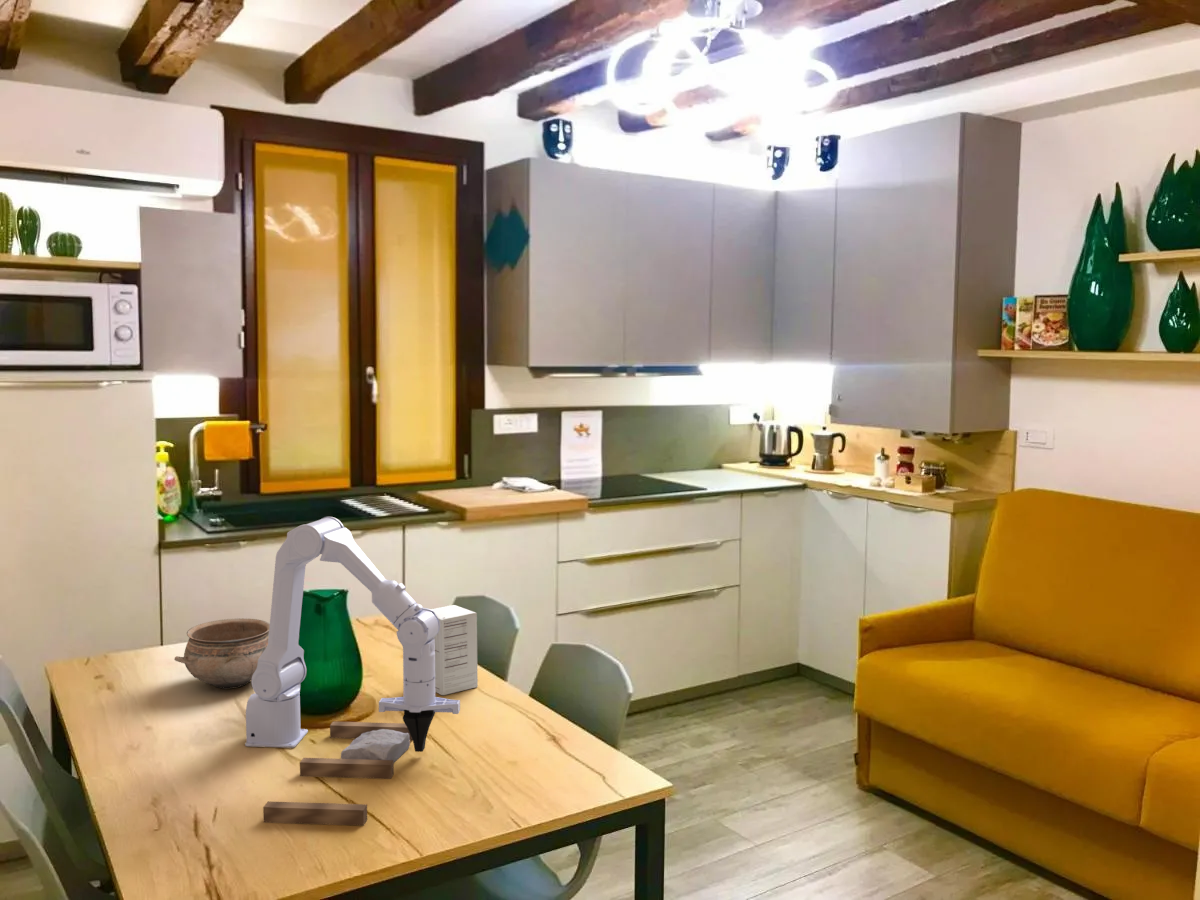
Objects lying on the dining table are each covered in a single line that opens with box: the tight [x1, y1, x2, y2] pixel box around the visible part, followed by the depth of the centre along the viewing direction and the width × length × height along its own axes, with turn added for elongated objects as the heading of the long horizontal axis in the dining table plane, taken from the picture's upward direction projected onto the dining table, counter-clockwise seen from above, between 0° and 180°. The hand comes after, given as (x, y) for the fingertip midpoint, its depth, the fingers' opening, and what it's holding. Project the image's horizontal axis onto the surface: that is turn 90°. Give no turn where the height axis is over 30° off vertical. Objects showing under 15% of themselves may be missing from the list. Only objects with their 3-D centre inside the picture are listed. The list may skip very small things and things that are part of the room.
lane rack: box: [262, 721, 413, 826], centre depth 178 cm, size 16×36×2 cm, turn 177°
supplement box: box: [431, 604, 479, 696], centre depth 223 cm, size 10×9×17 cm
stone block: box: [340, 729, 411, 763], centre depth 186 cm, size 12×5×10 cm
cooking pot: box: [174, 618, 270, 690], centre depth 223 cm, size 25×19×12 cm
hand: (419, 749), depth 186 cm, fingers closed
